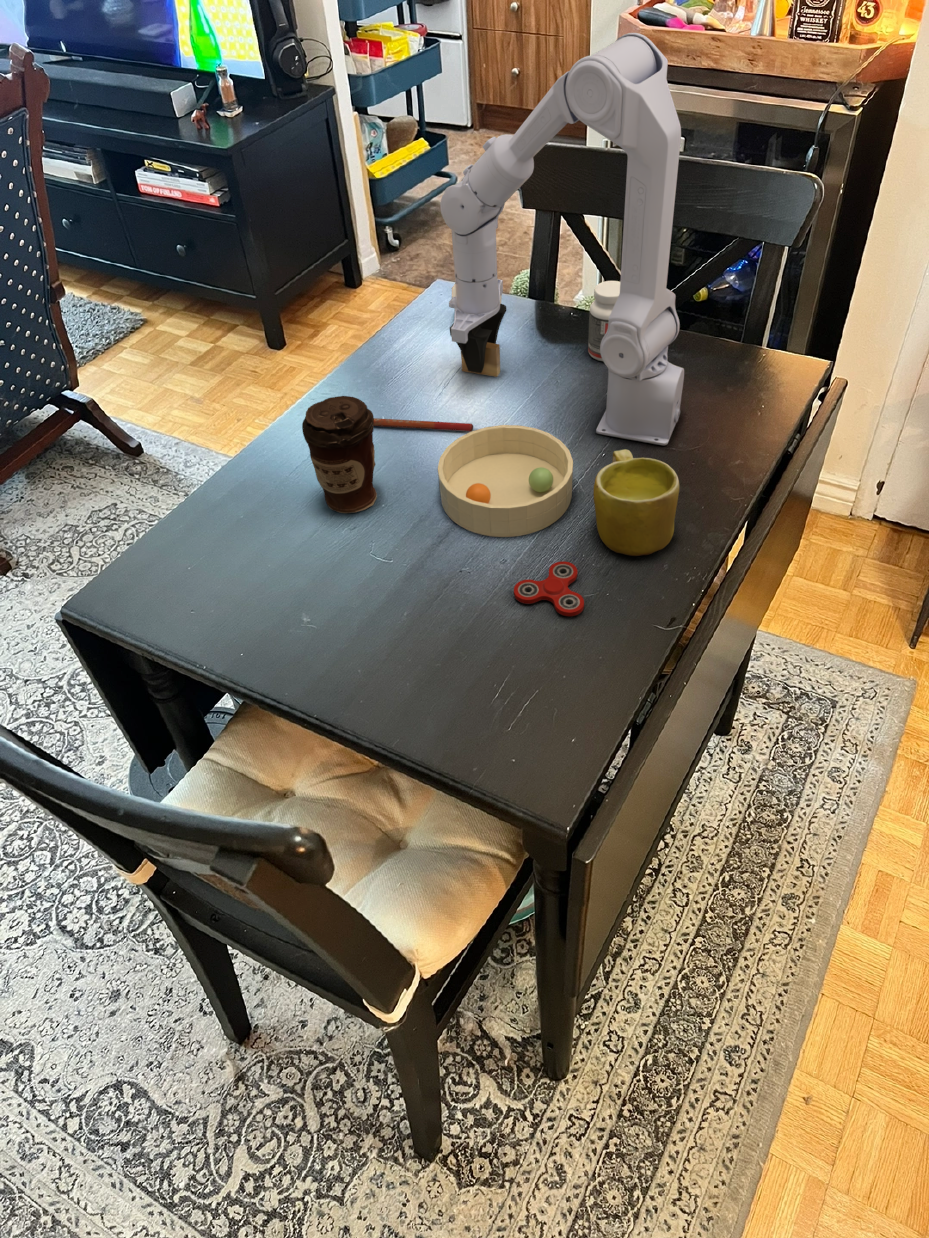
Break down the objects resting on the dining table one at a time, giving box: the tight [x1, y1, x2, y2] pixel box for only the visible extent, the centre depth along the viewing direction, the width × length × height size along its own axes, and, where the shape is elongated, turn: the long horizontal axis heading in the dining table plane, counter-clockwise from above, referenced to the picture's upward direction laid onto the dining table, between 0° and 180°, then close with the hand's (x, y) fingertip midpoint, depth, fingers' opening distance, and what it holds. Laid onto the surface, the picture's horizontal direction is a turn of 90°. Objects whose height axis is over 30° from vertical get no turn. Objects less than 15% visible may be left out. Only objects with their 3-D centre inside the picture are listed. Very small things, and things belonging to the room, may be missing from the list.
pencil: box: [373, 417, 474, 432], centre depth 123 cm, size 19×1×1 cm, turn 80°
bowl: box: [437, 424, 574, 538], centre depth 111 cm, size 16×16×4 cm
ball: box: [451, 283, 503, 304], centre depth 140 cm, size 8×8×8 cm
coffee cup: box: [301, 395, 378, 514], centre depth 109 cm, size 9×8×13 cm
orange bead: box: [466, 483, 491, 504], centre depth 110 cm, size 3×3×3 cm
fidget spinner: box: [513, 560, 585, 617], centre depth 100 cm, size 8×7×1 cm
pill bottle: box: [587, 280, 620, 362], centre depth 130 cm, size 6×6×10 cm
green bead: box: [529, 467, 553, 492], centre depth 111 cm, size 3×3×3 cm
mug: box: [592, 448, 680, 557], centre depth 104 cm, size 12×10×10 cm
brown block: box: [460, 342, 501, 378], centre depth 131 cm, size 1×6×4 cm, turn 68°
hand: (480, 363), depth 131 cm, fingers open, 4 cm apart
